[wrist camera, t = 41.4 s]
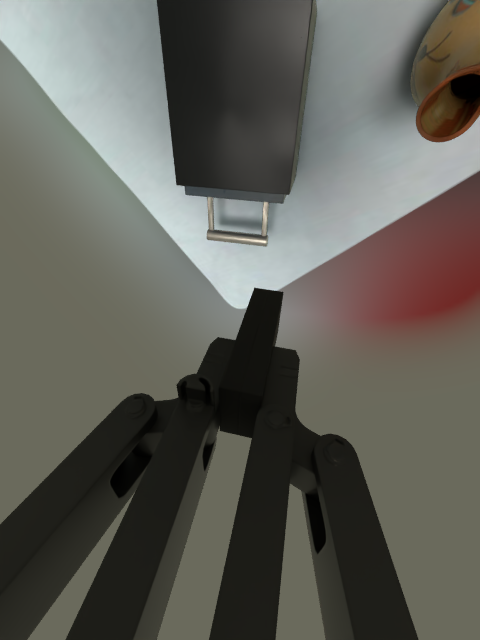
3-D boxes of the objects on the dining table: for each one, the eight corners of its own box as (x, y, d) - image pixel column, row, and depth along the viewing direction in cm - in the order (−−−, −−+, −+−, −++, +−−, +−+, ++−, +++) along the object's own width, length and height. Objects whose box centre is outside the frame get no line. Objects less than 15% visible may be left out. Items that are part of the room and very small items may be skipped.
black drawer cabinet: (295, 177, 37) (289, 195, 30) (201, 170, 39) (176, 185, 32) (317, 10, 28) (315, -16, 21) (192, 13, 30) (155, -11, 23)
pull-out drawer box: (283, 235, 41) (277, 256, 35) (206, 227, 42) (189, 245, 37) (306, 42, 28) (302, 30, 23) (197, 42, 30) (170, 31, 25)
